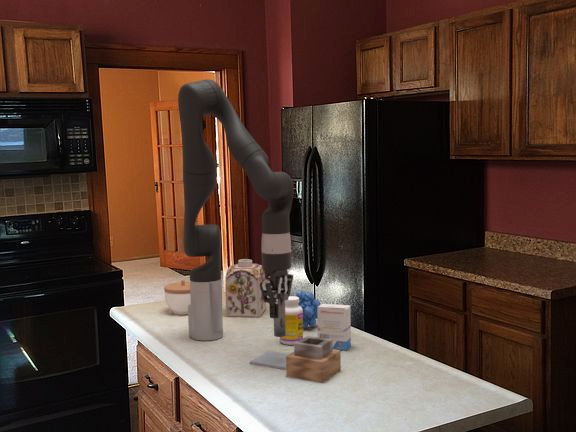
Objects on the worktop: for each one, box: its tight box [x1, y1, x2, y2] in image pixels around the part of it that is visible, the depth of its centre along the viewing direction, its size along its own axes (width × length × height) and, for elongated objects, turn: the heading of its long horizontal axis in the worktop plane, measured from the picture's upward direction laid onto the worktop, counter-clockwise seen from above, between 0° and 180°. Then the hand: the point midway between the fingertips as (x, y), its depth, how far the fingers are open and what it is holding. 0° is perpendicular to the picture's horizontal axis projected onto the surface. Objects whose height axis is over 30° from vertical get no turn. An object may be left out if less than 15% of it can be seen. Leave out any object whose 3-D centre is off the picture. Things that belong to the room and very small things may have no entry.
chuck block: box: [285, 335, 342, 383], centre depth 163 cm, size 10×10×8 cm
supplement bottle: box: [279, 295, 304, 346], centre depth 188 cm, size 7×7×13 cm
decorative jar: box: [224, 258, 267, 318], centre depth 221 cm, size 12×12×18 cm
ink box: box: [316, 303, 352, 352], centre depth 183 cm, size 9×5×12 cm, turn 71°
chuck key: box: [273, 290, 288, 338], centre depth 170 cm, size 3×6×11 cm, turn 40°
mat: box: [249, 350, 290, 371], centre depth 172 cm, size 12×10×1 cm
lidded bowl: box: [163, 279, 191, 316], centre depth 224 cm, size 13×13×11 cm
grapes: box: [295, 290, 321, 330], centre depth 200 cm, size 12×7×12 cm, turn 117°
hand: (277, 315), depth 171 cm, fingers closed on chuck key, 3 cm apart
